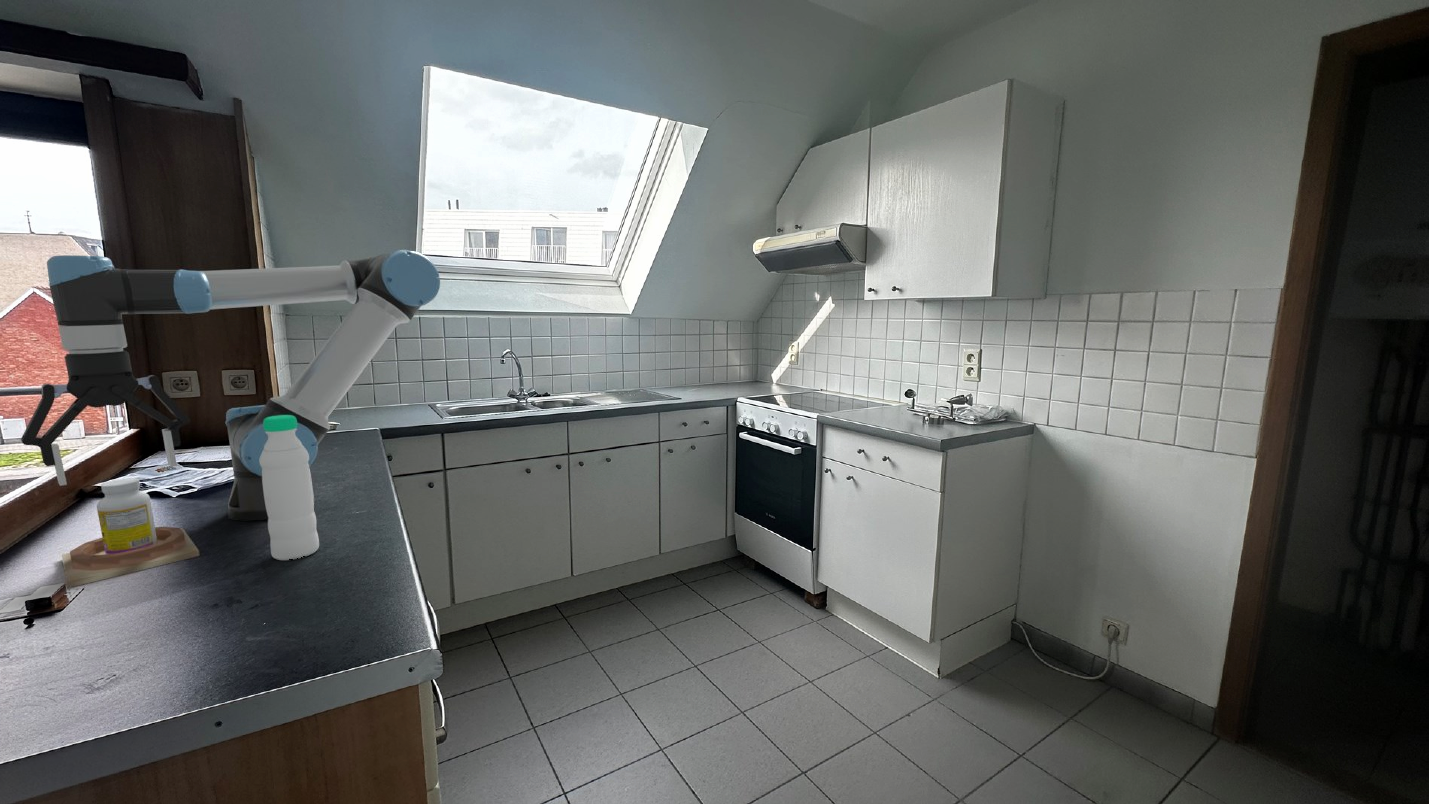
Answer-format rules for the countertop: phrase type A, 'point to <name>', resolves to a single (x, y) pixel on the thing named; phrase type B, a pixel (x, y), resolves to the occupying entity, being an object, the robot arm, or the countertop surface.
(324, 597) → the countertop surface
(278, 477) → the water bottle
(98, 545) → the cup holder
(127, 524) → the supplement bottle
